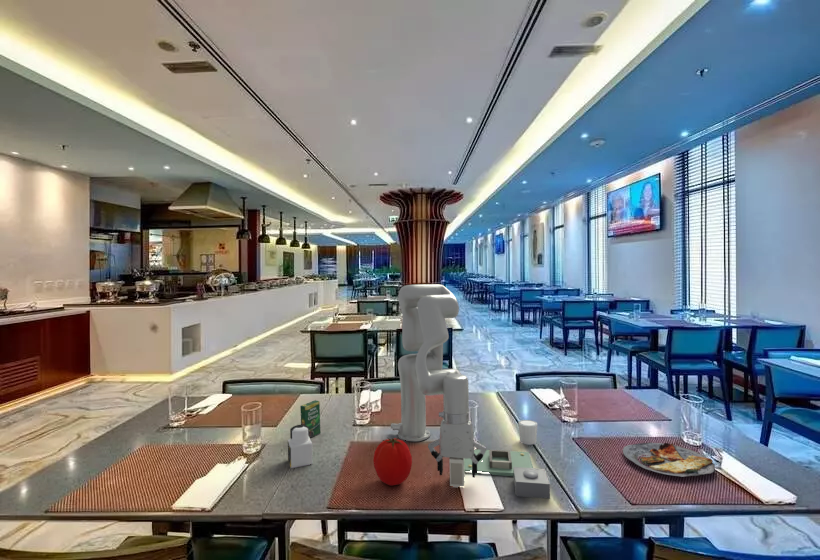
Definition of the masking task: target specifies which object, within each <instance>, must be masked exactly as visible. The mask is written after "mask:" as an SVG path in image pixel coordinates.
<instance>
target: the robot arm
mask: <svg viewBox="0 0 820 560" xmlns="http://www.w3.org/2000/svg"><path fill="white" fill-rule="evenodd" d="M398 304H399V307H400V311H401V316H402V325H401V326H402V332H401V333H402V335H401V336H402V338H401V339H402V340H401V341H402V347H403V349H404V350H405V351H407V352H417V353H409V354H404V355H402V356H401V357H400V358H399V359H398V362H397V369H398V374H399V381H400V407H401V408H400V411H401V412H400V413H401V415H400V417H401V418H400V419H401V422H399V423H391V424H390V429H392V431H398V432H397V438H399V440H402V441H405V440H406V441H405V442H420V441H425V440H427V439H429V437H430V436H431V431H430V430H429V429H428V428H427V424H426V423H427V420H426V419H427V416H426V415H427V413H426V411H427V409H426V406H427V405H426V396H437V395H443V400H442V401H443V410H442V411H439V412H438V417H439V418H442V419H441V421H440V422H441V423H440V426H439V427H440V428H439V438H438V439H435V440H434V441H432V442H429V443H428V444H427V445H428V446H427V448H428V450H429V452H430V453H431V455H432V457H433V458H434V459H435V460H436V463H437V464H436V465H437V468H436V469H437V472H439V476H443V472H444V459H443V458H449V459H450V458H465V459H469V458H470V459H471V460H472V475H471V476H472V478H475V477H476V474H475V473H477V463H478V462H479V461H480V460H481V459H482V458H483V456H484V454H485V452H486V450H487V446H485V445H483V444H482V443H479V442H478V441H476V440H475V437H474V429H473V424H472V421H471V420H470V407H469V406H470V401H469V400H470V397H469V396H470V395H469V390H470V389H469V379H468V377H467V376H466V375H464V374H462V372H461V371H460V370H458V369H457V368H446V369H445V368H443V366H444V365H443V361H444V360H443V359H444V357H443V356H444V343H446V342H447V341H448V340H449V337H450V336H449V331H448V326H447V323H446V322H447V321H446V320H447V319H455V318H456V317H457V316H458V314H459V312H460V306H459V302H458V300H457V298H456V296H455V295H454V294H453V292H451V291H450V290H449V289H448V288H447V287H446V286H444V284H436V283H431V284H430V283H429V284H427V283H426V284H423V283H421V284H420V283H419V284H418V283H417V284H407V285H406V284H405V285H404V286H402V287H400V289H399V291H398ZM436 447H438V449H439V452H438V451H437V450H436V449H435V448H436ZM475 448H476V449H479V450H481V451H480V453H479V454H478V455H476V454H475V453H474V449H475Z"/></svg>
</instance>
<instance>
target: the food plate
mask: <svg viewBox="0 0 820 560" xmlns="http://www.w3.org/2000/svg"><path fill="white" fill-rule="evenodd" d="M622 452H623V455H624V457H626V458H627V459H628V460H629V461H631V462H632V463H634V464H635V465H637V466H638V467H641V468H642V469H645V470H648V471H650V472H651V471H652V472H655V473H657V474H660V475H668V476H674V477H681V478H682V477H683V478H685V477H691V476H693V477H697V476H702V475H708V474H709V475H710V474H712V473H715V472H716V467H715V466H716V465H715V463H714V462H713V461H714V460H713V459H711V458H709V457H707V456H705V455H703V454H701V453H700V452H697V451H695V450H692V449H690V448H686V447H683V446H680V445H679V446H678V445H675V444H674V443H669V442H664V443H663V442H662V443H661V442H659V443H658V442H652V441H650V442H640V443H634V444H628V445H626V446H624V447H623V449H622ZM638 459H639V460H640V461H639V460H638ZM648 466H649V467H648Z"/></svg>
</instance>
